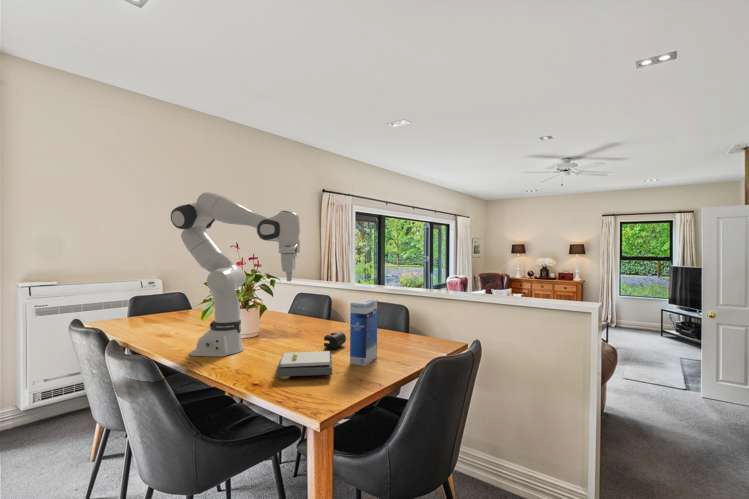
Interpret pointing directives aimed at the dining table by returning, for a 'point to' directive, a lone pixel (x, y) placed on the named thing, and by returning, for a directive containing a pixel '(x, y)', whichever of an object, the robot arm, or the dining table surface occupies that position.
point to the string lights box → (363, 331)
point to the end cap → (334, 340)
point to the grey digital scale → (303, 370)
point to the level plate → (305, 359)
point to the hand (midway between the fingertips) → (289, 281)
